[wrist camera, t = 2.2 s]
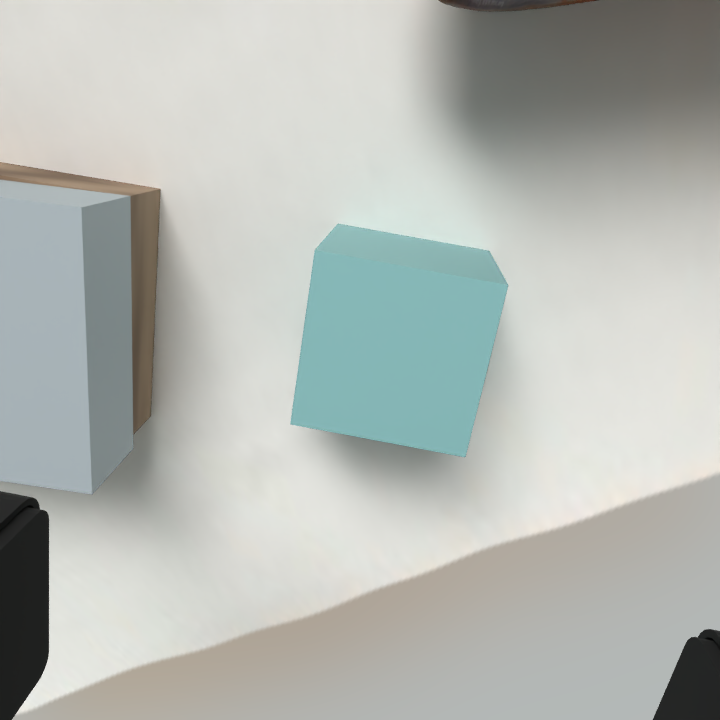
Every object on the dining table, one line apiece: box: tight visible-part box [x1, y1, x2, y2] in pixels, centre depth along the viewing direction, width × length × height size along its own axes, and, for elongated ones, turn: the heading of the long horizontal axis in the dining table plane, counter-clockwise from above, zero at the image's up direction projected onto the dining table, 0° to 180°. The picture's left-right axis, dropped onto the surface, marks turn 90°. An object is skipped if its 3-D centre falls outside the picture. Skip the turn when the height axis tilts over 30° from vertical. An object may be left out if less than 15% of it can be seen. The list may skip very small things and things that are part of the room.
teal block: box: [291, 224, 508, 457], centre depth 24 cm, size 6×6×6 cm
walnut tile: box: [0, 162, 160, 434], centre depth 26 cm, size 10×10×4 cm
